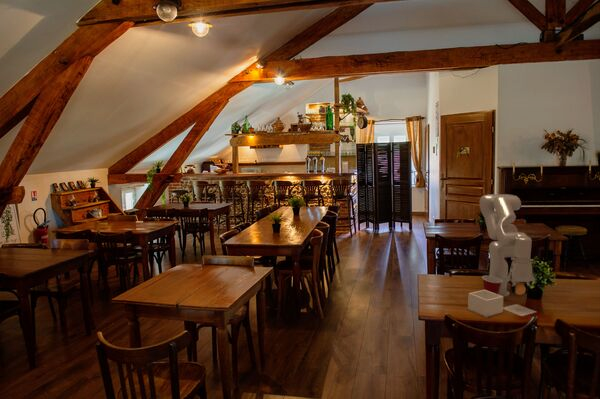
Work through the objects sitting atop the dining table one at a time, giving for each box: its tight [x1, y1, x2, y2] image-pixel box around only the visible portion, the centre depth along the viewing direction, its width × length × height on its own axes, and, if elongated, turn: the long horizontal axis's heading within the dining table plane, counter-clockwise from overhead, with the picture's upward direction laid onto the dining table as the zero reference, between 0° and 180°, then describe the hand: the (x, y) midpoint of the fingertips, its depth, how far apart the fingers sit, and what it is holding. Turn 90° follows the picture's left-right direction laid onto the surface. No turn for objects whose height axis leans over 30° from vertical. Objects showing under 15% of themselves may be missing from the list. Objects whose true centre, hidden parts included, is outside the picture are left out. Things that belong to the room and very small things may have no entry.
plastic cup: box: [481, 275, 503, 294], centre depth 244 cm, size 11×11×12 cm
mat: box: [503, 303, 537, 317], centre depth 227 cm, size 12×12×1 cm
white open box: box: [467, 289, 505, 318], centre depth 226 cm, size 12×12×9 cm
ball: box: [514, 282, 526, 296], centre depth 226 cm, size 6×6×6 cm
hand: (519, 292), depth 226 cm, fingers closed on ball, 5 cm apart
